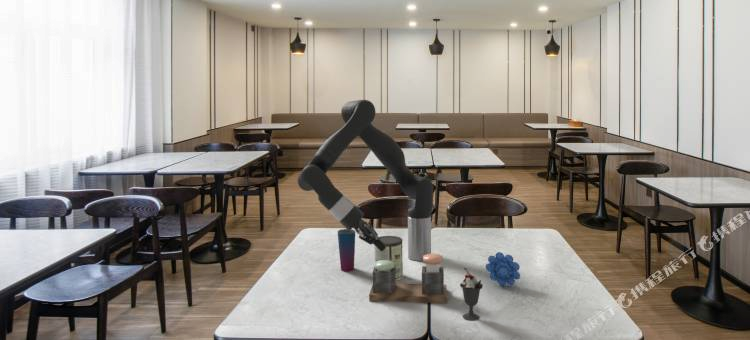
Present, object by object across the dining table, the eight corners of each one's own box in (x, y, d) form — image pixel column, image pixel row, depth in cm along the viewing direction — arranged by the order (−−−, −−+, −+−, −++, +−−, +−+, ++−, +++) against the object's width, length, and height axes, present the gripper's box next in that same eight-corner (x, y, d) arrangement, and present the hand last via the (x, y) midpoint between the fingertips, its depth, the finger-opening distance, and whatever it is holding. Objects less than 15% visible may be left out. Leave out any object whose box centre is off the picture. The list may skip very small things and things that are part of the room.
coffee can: (381, 270, 199) (381, 234, 197) (407, 274, 194) (406, 237, 192) (370, 279, 190) (369, 241, 187) (396, 283, 185) (395, 244, 183)
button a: (373, 288, 172) (373, 266, 171) (376, 281, 178) (375, 259, 177) (393, 288, 171) (393, 266, 170) (394, 281, 177) (394, 260, 176)
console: (369, 300, 170) (368, 274, 169) (373, 288, 181) (372, 263, 180) (446, 303, 167) (446, 276, 166) (446, 290, 178) (446, 264, 177)
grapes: (485, 289, 178) (486, 255, 176) (485, 282, 185) (485, 249, 183) (521, 291, 176) (522, 256, 174) (519, 283, 183) (520, 250, 181)
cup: (353, 272, 197) (352, 233, 195) (336, 271, 198) (335, 233, 196) (358, 266, 203) (357, 229, 201) (341, 265, 205) (340, 228, 203)
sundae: (457, 313, 160) (457, 265, 158) (478, 311, 160) (479, 264, 158) (462, 322, 153) (462, 273, 151) (485, 321, 154) (485, 272, 152)
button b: (422, 281, 170) (422, 259, 168) (423, 275, 176) (423, 253, 175) (442, 282, 169) (442, 260, 168) (442, 275, 175) (442, 253, 174)
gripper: (350, 209, 165) (390, 247, 166) (357, 200, 178) (393, 235, 179) (334, 225, 167) (374, 263, 167) (342, 215, 180) (378, 250, 180)
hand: (384, 248), depth 173 cm, fingers closed
